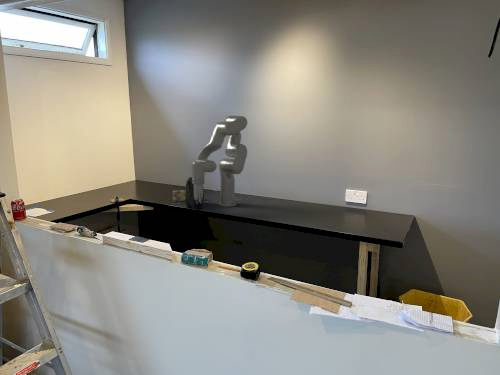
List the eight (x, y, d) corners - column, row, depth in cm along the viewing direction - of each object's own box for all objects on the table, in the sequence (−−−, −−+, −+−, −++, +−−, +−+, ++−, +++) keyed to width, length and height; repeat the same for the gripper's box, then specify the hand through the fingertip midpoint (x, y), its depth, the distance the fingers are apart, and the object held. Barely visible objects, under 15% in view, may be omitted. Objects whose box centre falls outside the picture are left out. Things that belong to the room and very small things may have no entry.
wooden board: (201, 199, 252) (201, 189, 251) (201, 199, 251) (201, 190, 249) (173, 200, 248) (172, 190, 246) (173, 201, 246) (172, 191, 244)
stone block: (195, 209, 226) (195, 179, 222) (183, 207, 229) (183, 178, 225) (208, 202, 243) (207, 174, 239) (196, 201, 246) (196, 173, 242)
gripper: (191, 179, 223) (191, 206, 227) (193, 183, 209) (194, 213, 213) (202, 178, 225) (203, 206, 229) (205, 183, 211) (206, 212, 215)
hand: (198, 209), depth 221 cm, fingers closed
